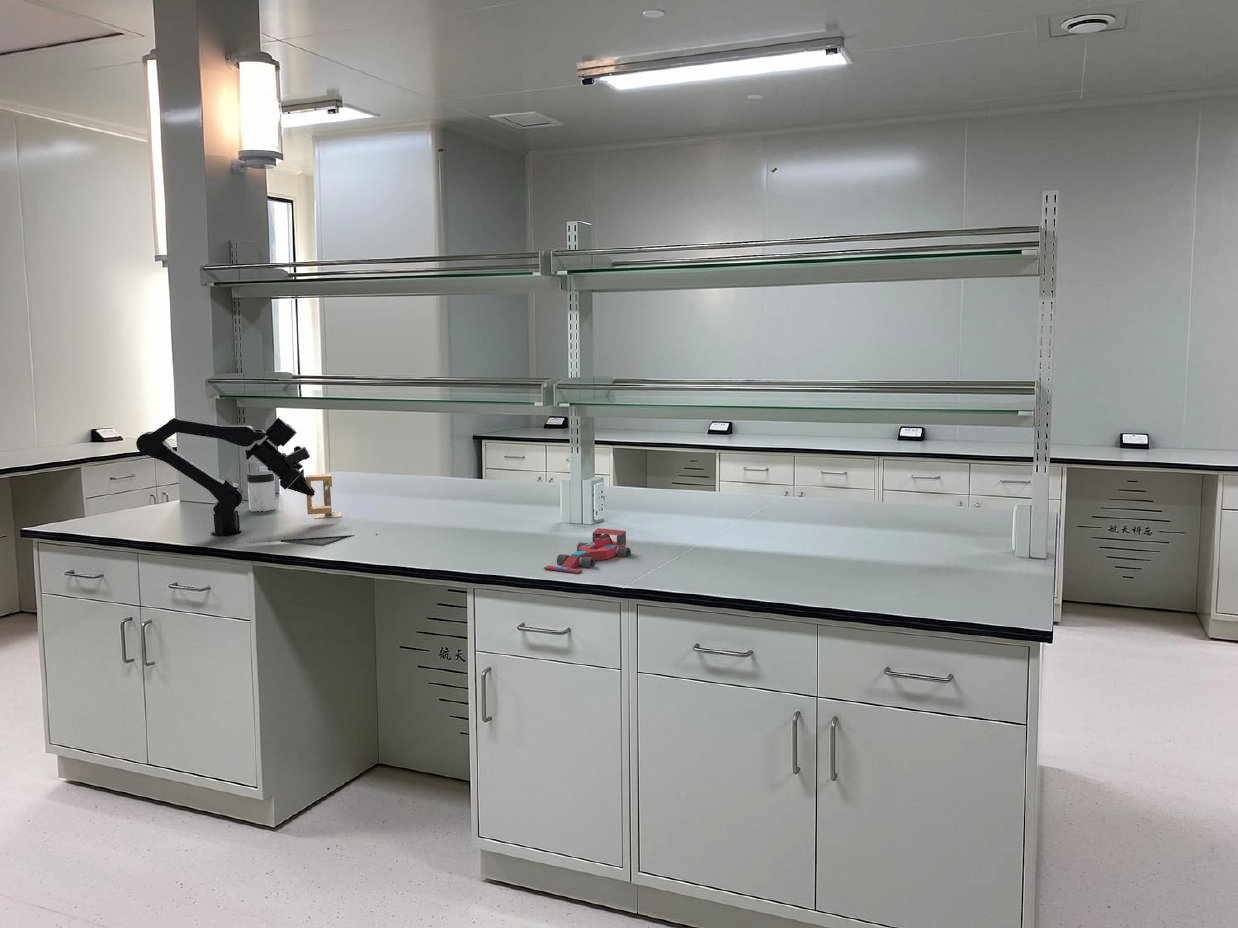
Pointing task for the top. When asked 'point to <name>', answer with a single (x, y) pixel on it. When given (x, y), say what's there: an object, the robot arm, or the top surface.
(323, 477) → the c hook
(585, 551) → the race car
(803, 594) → the top surface
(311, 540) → the rubber mat
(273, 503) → the jar
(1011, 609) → the top surface
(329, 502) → the hook stand
